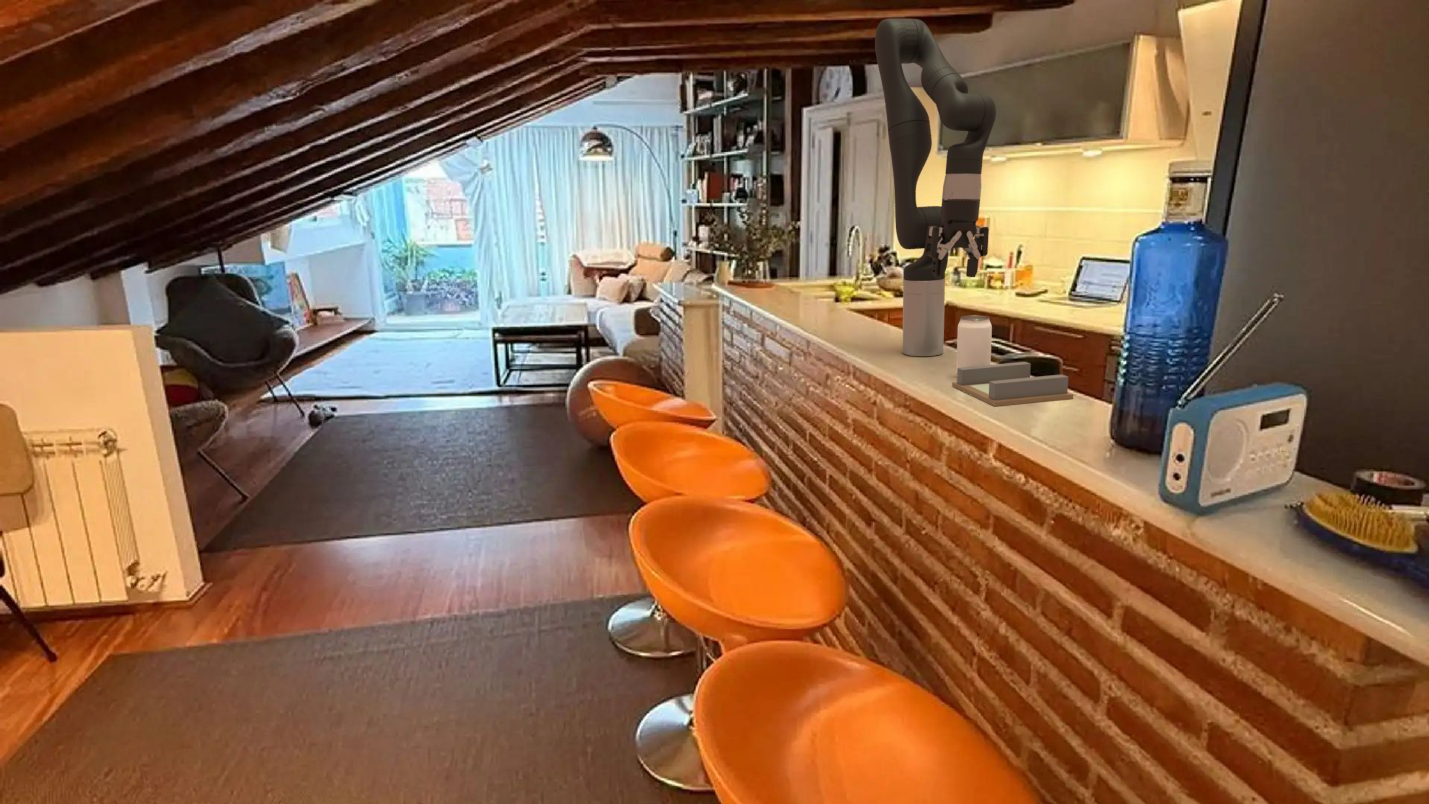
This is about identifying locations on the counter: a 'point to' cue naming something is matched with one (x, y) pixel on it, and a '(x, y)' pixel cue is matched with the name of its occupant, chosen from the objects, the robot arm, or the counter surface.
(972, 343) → the can
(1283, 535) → the counter surface
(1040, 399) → the twin rail tray
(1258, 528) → the counter surface
